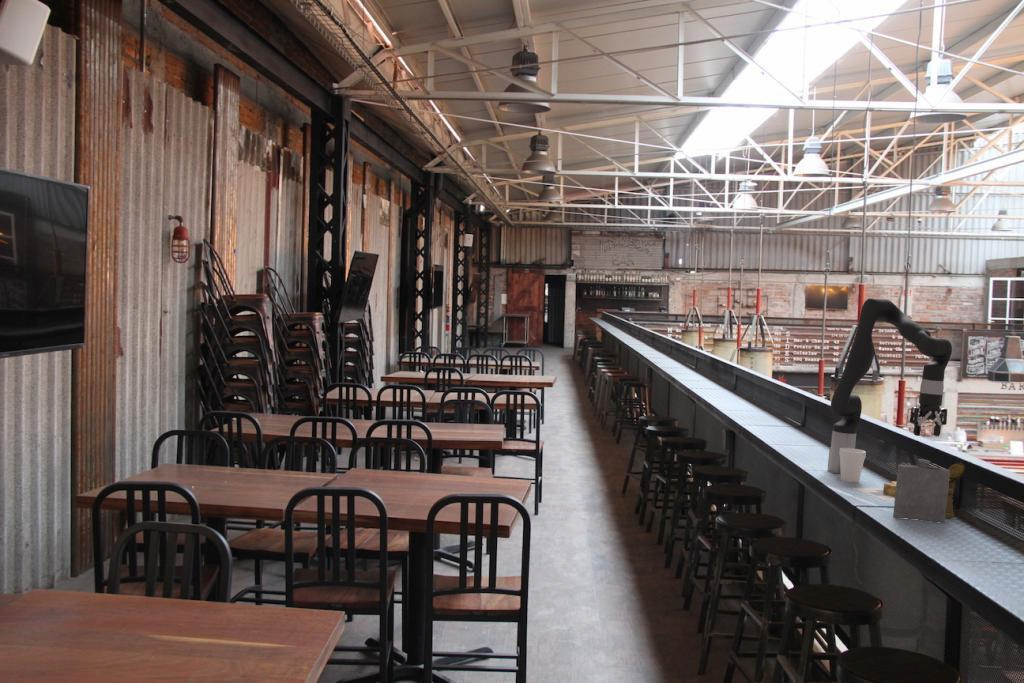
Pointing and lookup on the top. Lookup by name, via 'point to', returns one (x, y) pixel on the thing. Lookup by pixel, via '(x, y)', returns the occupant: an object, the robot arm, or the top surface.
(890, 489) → the t block
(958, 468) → the wooden mug
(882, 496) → the t board
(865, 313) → the robot arm
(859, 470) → the foam cup
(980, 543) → the top surface
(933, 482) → the hip flask
